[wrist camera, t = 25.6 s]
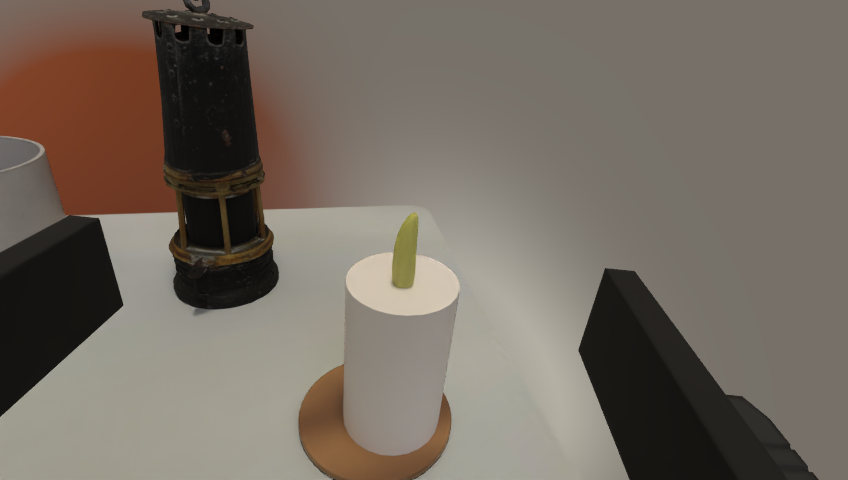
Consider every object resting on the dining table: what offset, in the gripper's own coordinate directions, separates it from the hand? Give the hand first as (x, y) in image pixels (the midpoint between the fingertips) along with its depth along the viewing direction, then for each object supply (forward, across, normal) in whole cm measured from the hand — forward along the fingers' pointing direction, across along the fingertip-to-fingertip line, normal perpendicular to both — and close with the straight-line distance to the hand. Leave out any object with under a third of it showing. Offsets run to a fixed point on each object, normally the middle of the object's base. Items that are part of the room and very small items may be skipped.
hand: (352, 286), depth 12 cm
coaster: (+11, 0, -18) cm, 21 cm away
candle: (+11, +1, -17) cm, 20 cm away
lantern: (+24, -16, -18) cm, 34 cm away
